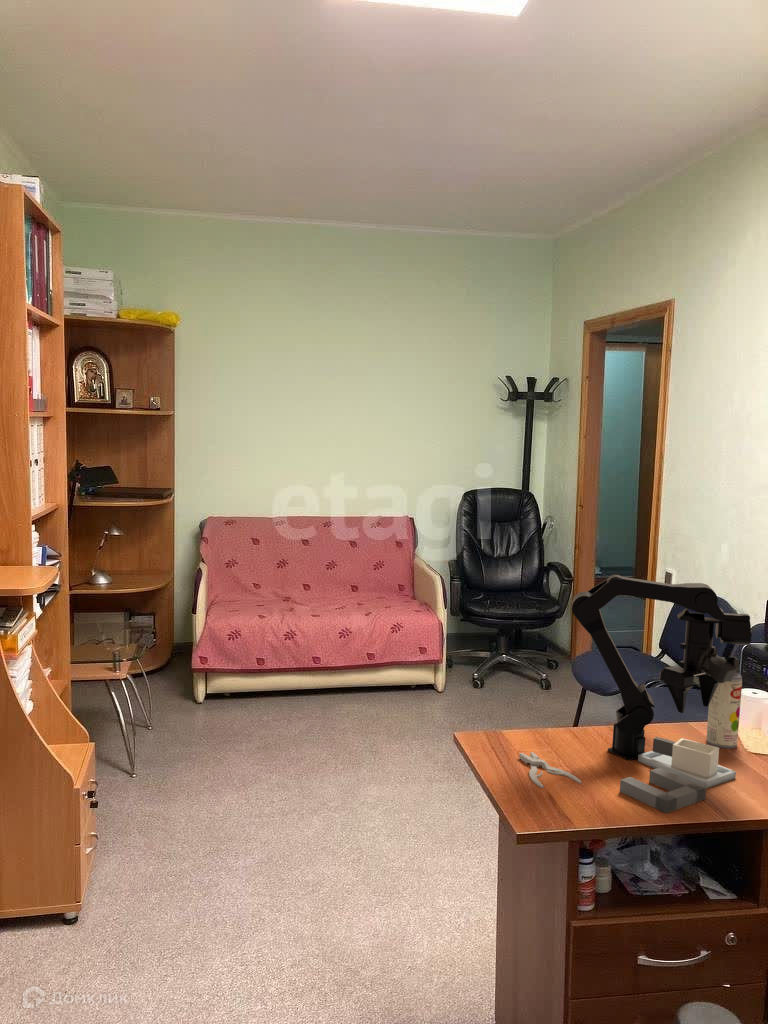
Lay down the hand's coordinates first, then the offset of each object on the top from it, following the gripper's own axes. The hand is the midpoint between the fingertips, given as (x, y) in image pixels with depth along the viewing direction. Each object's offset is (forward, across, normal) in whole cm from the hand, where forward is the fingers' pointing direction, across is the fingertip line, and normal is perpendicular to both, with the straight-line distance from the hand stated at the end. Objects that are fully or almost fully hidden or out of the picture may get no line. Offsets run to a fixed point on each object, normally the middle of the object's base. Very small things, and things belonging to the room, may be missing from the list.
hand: (693, 709), depth 179 cm
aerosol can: (+12, +17, +3) cm, 21 cm away
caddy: (+12, -6, -2) cm, 13 cm away
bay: (+12, -21, -8) cm, 26 cm away
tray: (+12, -5, -2) cm, 13 cm away
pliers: (+13, -34, +12) cm, 38 cm away
